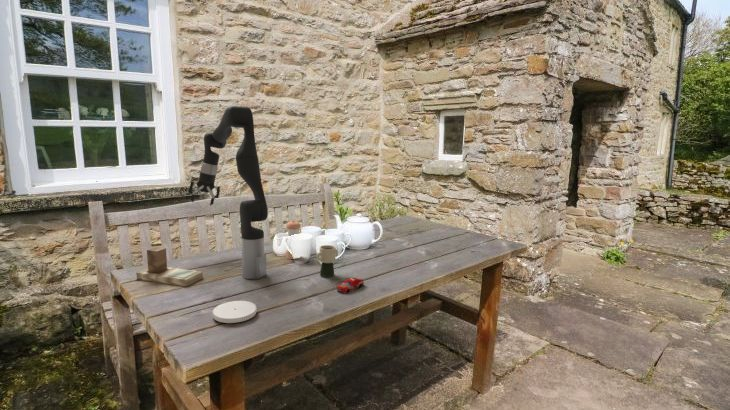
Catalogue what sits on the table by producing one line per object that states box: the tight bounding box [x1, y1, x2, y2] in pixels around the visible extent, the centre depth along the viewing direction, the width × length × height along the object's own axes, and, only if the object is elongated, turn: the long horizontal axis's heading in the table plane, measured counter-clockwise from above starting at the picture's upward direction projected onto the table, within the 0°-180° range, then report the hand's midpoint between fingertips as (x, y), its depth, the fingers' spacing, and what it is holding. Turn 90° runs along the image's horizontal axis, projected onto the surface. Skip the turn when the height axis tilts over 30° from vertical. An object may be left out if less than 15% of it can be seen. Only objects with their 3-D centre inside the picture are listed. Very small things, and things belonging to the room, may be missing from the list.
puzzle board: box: [135, 266, 204, 287], centre depth 164 cm, size 24×10×3 cm, turn 75°
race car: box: [336, 277, 364, 294], centre depth 160 cm, size 13×5×4 cm, turn 140°
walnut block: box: [146, 246, 168, 274], centre depth 164 cm, size 5×5×12 cm
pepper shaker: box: [285, 219, 301, 260], centre depth 197 cm, size 7×7×19 cm
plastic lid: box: [212, 300, 257, 324], centre depth 133 cm, size 14×14×2 cm
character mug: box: [316, 244, 339, 277], centre depth 173 cm, size 11×7×13 cm, turn 131°
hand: (201, 203), depth 199 cm, fingers open, 8 cm apart
